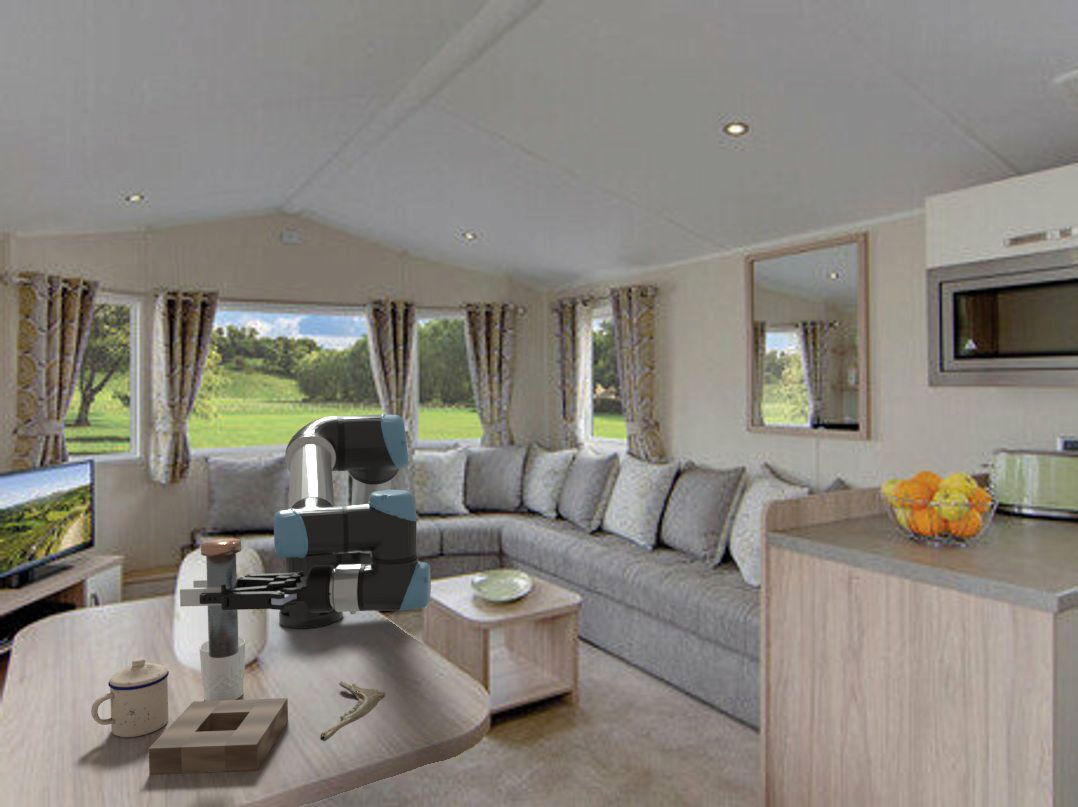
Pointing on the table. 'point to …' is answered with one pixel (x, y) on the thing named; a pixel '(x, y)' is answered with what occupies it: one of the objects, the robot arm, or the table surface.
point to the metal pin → (222, 573)
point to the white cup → (223, 674)
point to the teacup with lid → (136, 699)
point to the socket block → (219, 736)
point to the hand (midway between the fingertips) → (188, 592)
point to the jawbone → (356, 706)
